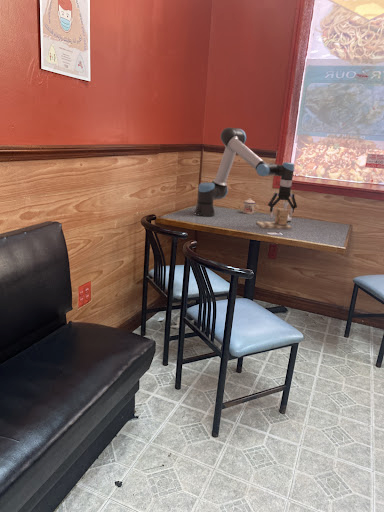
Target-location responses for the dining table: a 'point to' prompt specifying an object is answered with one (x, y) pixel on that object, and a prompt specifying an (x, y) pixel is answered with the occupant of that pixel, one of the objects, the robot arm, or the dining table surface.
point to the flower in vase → (286, 207)
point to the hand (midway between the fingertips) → (280, 217)
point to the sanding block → (281, 217)
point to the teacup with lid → (249, 206)
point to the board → (272, 225)
